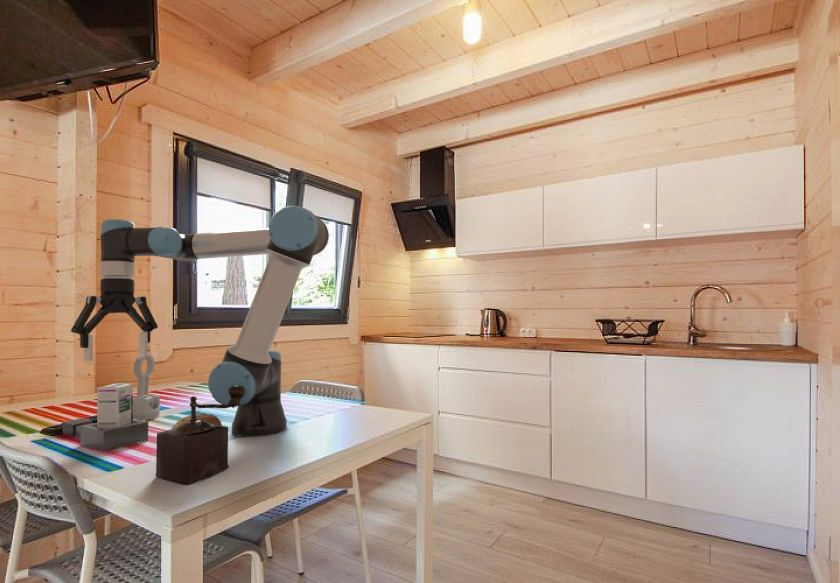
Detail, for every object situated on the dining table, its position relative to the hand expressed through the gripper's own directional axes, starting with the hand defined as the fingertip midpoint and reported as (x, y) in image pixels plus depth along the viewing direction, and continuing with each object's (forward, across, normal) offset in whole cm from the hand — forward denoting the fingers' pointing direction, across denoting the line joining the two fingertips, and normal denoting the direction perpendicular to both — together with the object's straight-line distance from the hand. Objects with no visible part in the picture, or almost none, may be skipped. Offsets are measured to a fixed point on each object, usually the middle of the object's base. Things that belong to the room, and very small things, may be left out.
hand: (117, 357), depth 119 cm
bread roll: (+23, -9, +20) cm, 32 cm away
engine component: (+22, -19, -21) cm, 36 cm away
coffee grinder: (+23, +1, +38) cm, 44 cm away
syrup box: (+22, 0, 0) cm, 22 cm away
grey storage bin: (+22, 0, -9) cm, 24 cm away
